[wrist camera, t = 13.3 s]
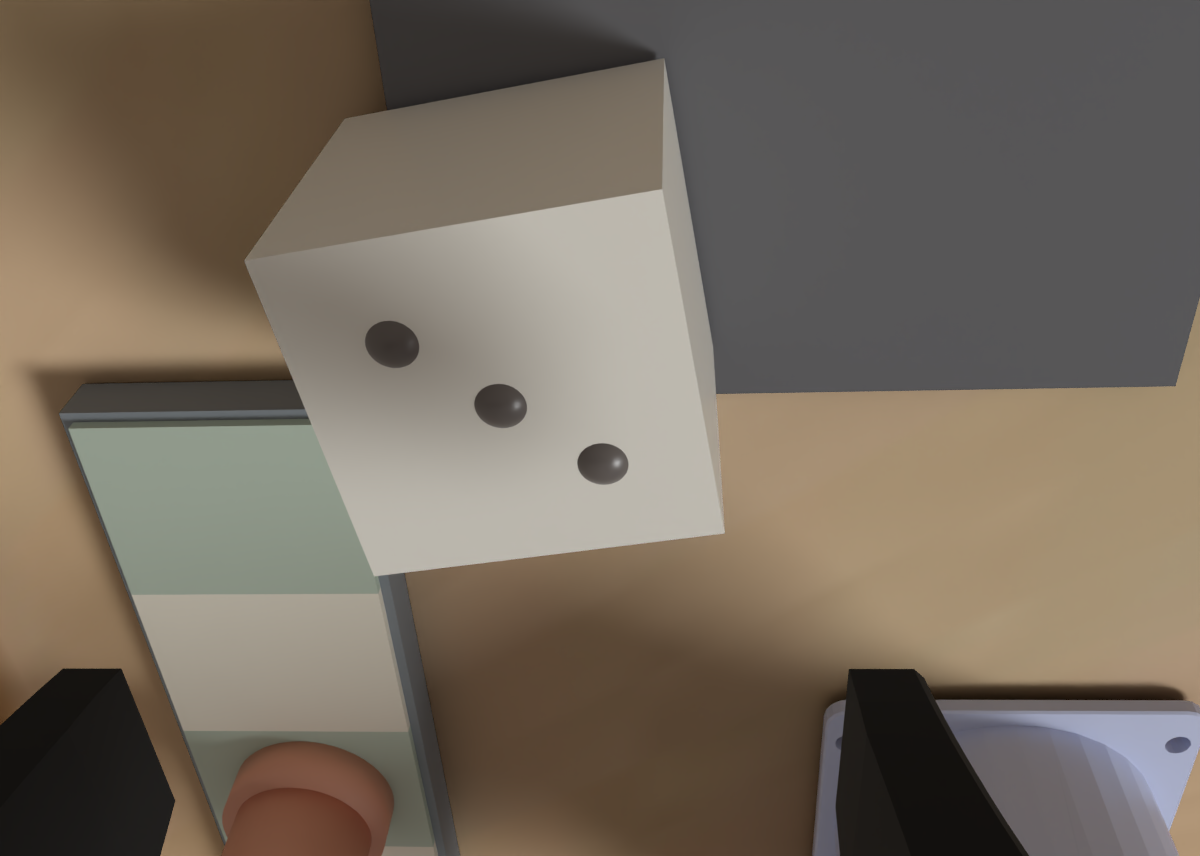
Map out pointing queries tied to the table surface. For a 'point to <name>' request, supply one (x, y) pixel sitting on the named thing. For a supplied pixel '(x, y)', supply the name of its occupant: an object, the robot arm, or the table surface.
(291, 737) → the board
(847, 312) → the mat
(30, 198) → the table surface
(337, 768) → the pawn
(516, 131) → the die
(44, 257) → the table surface
